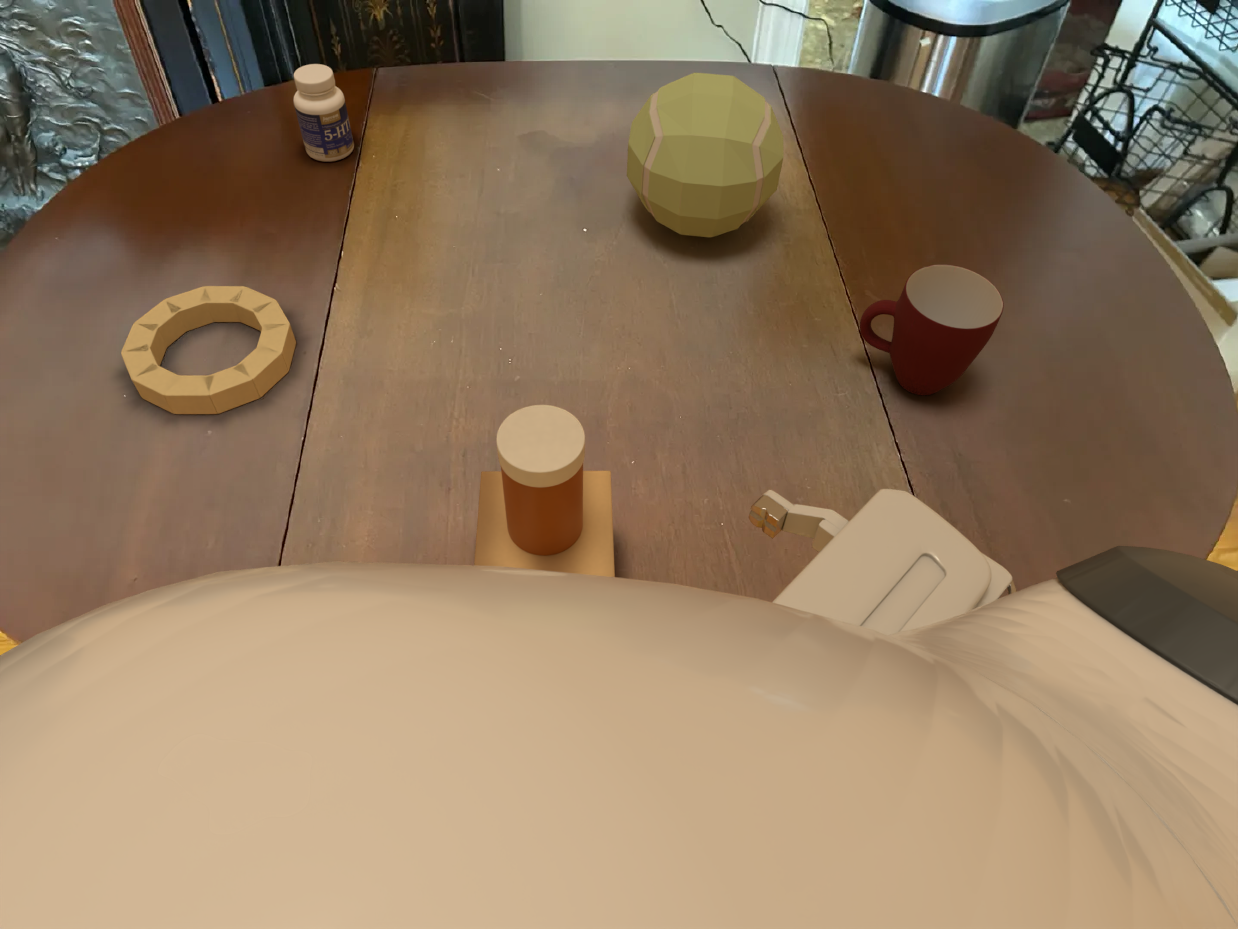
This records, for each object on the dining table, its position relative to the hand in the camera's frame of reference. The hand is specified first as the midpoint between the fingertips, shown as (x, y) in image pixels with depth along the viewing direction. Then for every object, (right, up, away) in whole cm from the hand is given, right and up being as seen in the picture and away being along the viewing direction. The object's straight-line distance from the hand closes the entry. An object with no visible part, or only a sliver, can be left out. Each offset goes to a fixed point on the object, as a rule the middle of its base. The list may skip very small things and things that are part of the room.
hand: (702, 555), depth 48 cm
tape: (-40, +14, +33) cm, 54 cm away
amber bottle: (-9, +1, +12) cm, 15 cm away
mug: (+22, +13, +35) cm, 43 cm away
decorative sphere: (+4, +31, +48) cm, 57 cm away
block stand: (-10, -5, +19) cm, 22 cm away
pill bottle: (-37, +40, +53) cm, 76 cm away
